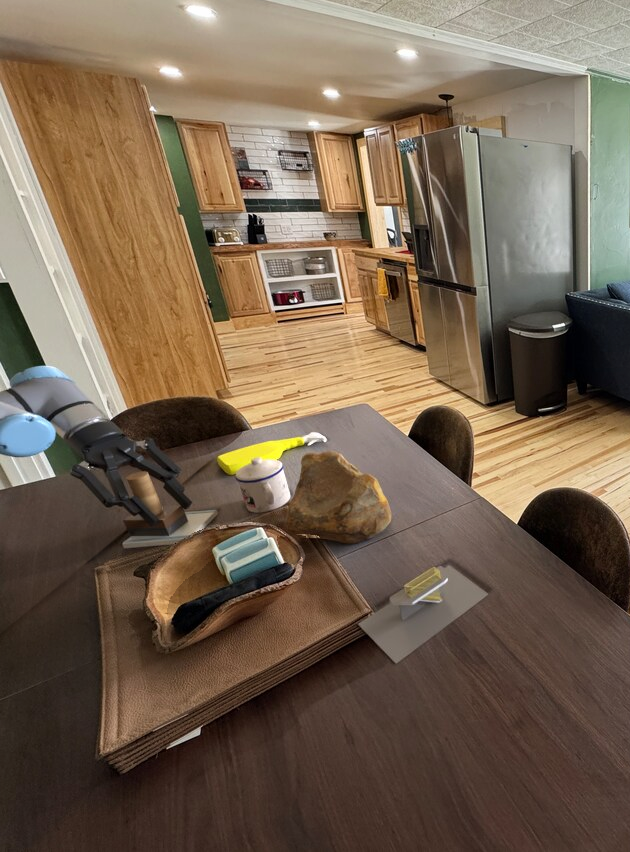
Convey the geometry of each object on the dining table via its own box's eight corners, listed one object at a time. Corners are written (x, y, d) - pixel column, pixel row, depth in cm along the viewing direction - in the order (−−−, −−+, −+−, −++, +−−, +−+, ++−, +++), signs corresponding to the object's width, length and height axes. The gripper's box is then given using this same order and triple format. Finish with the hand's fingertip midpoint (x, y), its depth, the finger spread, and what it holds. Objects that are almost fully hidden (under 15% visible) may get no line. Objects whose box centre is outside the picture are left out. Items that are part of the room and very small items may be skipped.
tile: (124, 548, 96) (121, 543, 95) (158, 518, 105) (156, 513, 104) (190, 542, 97) (188, 537, 97) (218, 514, 106) (216, 509, 106)
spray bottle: (216, 464, 126) (314, 434, 144) (230, 478, 120) (330, 445, 138) (213, 455, 125) (312, 426, 143) (227, 468, 119) (328, 436, 137)
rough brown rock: (270, 531, 102) (245, 475, 95) (343, 490, 114) (325, 438, 107) (328, 578, 91) (305, 518, 84) (403, 527, 103) (388, 471, 96)
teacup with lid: (242, 501, 111) (227, 458, 106) (286, 487, 117) (274, 445, 112) (252, 525, 103) (237, 479, 98) (299, 508, 109) (287, 464, 104)
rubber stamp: (130, 536, 97) (105, 482, 92) (150, 521, 102) (128, 469, 97) (169, 536, 97) (146, 482, 92) (188, 521, 102) (167, 469, 97)
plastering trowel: (488, 594, 85) (485, 565, 83) (396, 663, 72) (389, 632, 70) (449, 565, 92) (445, 537, 90) (357, 623, 79) (350, 593, 77)
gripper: (139, 423, 106) (213, 498, 108) (24, 462, 90) (114, 550, 91) (146, 404, 102) (223, 482, 104) (29, 441, 86) (122, 533, 88)
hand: (172, 514), depth 98 cm, fingers closed on rubber stamp, 5 cm apart
